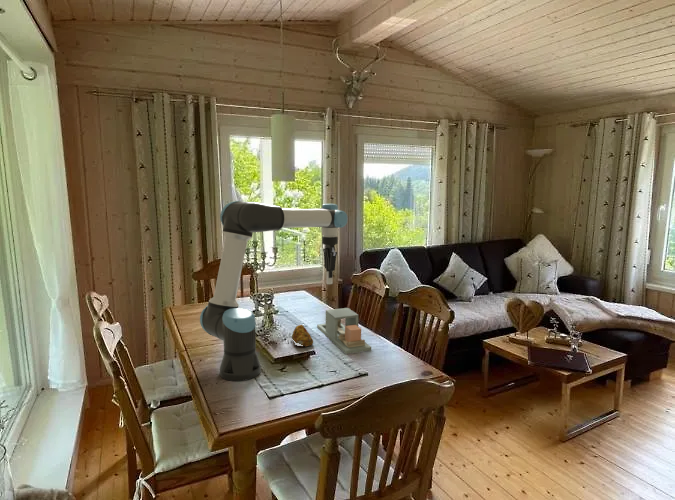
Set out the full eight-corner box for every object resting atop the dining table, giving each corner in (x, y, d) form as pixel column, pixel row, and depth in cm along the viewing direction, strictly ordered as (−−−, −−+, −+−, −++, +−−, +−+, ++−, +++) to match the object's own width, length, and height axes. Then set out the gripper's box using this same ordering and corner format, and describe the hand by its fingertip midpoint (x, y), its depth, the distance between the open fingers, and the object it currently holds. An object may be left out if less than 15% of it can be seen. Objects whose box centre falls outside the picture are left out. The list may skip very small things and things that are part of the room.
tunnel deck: (371, 350, 183) (371, 323, 181) (345, 354, 178) (346, 326, 176) (339, 324, 216) (339, 301, 214) (317, 327, 211) (317, 304, 209)
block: (361, 342, 184) (361, 328, 183) (350, 343, 182) (350, 330, 181) (355, 337, 189) (355, 324, 188) (344, 339, 187) (345, 325, 186)
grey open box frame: (364, 345, 183) (364, 333, 183) (348, 347, 181) (348, 335, 180) (341, 326, 207) (341, 316, 207) (326, 328, 205) (326, 317, 204)
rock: (311, 350, 192) (316, 340, 185) (295, 357, 188) (300, 347, 181) (301, 329, 197) (305, 319, 190) (285, 335, 193) (289, 325, 186)
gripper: (342, 237, 200) (341, 286, 203) (332, 234, 212) (331, 280, 215) (327, 237, 197) (327, 287, 201) (318, 234, 209) (317, 281, 212)
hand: (329, 283), depth 208 cm, fingers closed
